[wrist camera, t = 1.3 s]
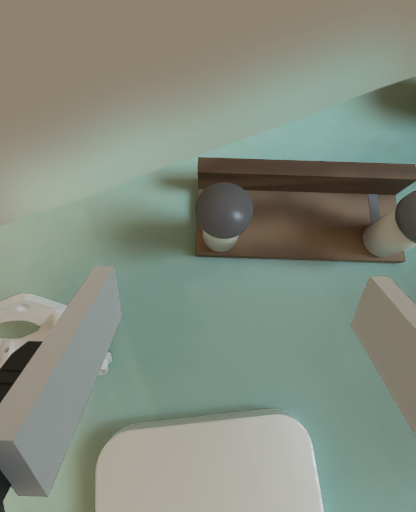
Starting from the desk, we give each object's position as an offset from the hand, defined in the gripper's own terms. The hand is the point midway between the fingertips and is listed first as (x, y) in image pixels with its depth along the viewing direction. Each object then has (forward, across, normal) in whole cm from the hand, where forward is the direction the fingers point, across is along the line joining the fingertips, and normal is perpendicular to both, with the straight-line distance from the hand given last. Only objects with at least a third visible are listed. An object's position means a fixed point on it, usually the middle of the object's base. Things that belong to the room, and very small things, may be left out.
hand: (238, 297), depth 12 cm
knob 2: (+22, +20, -8) cm, 31 cm away
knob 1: (+22, 0, -8) cm, 23 cm away
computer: (+1, 0, -32) cm, 32 cm away
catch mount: (+25, +10, -6) cm, 28 cm away
